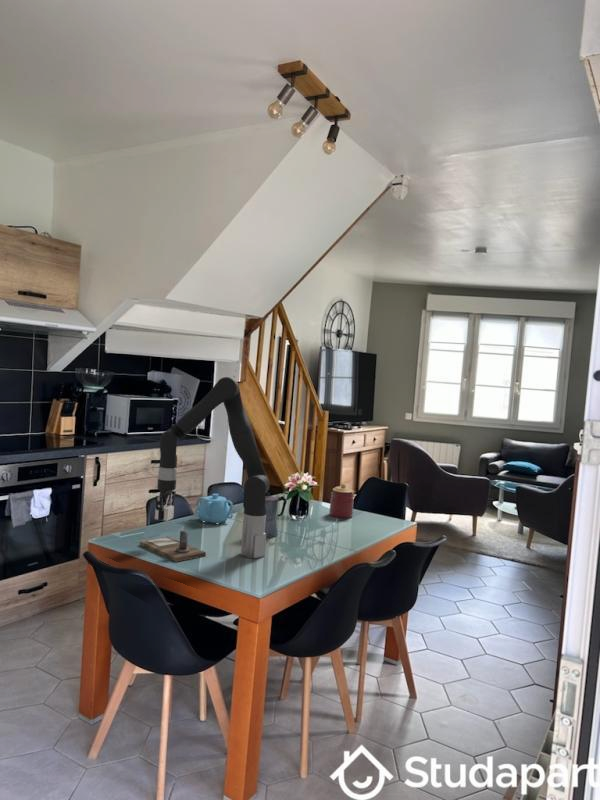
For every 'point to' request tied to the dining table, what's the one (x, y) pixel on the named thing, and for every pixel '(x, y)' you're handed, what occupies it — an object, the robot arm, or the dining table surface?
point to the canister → (341, 502)
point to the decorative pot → (214, 509)
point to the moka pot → (272, 514)
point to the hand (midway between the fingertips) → (164, 517)
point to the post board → (173, 547)
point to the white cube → (166, 513)
